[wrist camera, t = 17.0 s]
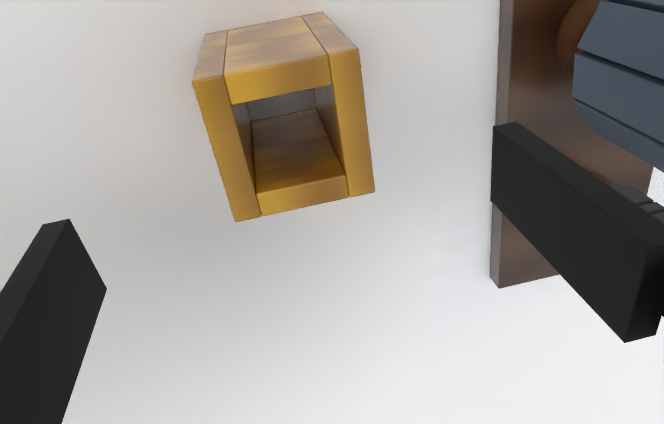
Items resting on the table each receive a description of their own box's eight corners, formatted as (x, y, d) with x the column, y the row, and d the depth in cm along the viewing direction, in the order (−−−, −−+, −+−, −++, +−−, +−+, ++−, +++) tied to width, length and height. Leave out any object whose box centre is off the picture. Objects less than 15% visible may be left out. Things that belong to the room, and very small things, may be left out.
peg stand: (619, 246, 39) (787, 388, 27) (489, 276, 38) (604, 436, 26) (696, -106, 26) (1083, -131, 14) (503, -70, 25) (739, -66, 13)
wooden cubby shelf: (235, 143, 29) (235, 223, 21) (204, 33, 25) (191, 81, 18) (339, 122, 29) (375, 192, 21) (322, 11, 26) (358, 48, 18)
